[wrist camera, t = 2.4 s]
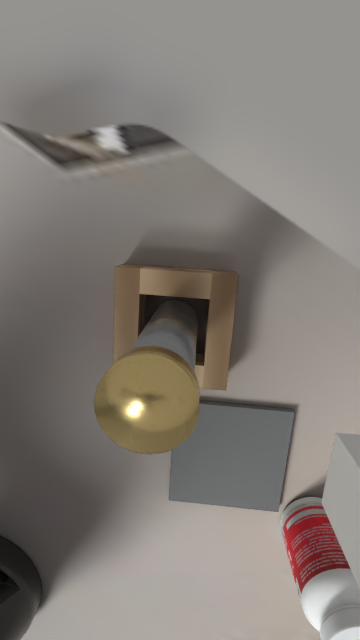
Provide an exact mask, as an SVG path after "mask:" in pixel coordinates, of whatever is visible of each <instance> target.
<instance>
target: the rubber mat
mask: <svg viewBox="0 0 360 640" xmlns="http://www.w3.org/2000/svg"><path fill="white" fill-rule="evenodd" d="M294 414H295V412H294V410H293V409H285V408H274V407H263V406H252V405H241V404H230V403H219V402H209V401H199V416H198V420H197V424H196V426H195V428H194V430H193V432H192V433H191V435H190V436H189V437H188V438H187V439H186V440H185V441H184V442H183V443H182V444H181V445H179V446H177V447H176V448H174V449H172V458H171V473H170V488H169V500H172V501H181V502H190V503H200V504H209V505H218V506H227V507H237V508H246V509H255V510H264V511H274V512H278V511H279V505H280V499H281V493H282V487H283V480H284V474H285V468H286V462H287V456H288V450H289V444H290V438H291V432H292V426H293V420H294Z"/></svg>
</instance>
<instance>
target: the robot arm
mask: <svg viewBox="0 0 360 640" xmlns="http://www.w3.org/2000/svg"><path fill="white" fill-rule="evenodd" d="M321 503H322V505H323V507H324V510H325V512H326V514H327V516H328V519H329V521H330V523H331V526H332V528H333V530H334V532H335V535H336V537H337V539H338V541H339V544H340V546H341V548H342V551H343V553H344V555H345V557H346V560H347V562H348V564H349V566H350V569H351V571H352V573H353V576H354V578H355V580H356V582H357V585H358V587H359V589H360V435H353V434H343V433H336V434H335V439H334V443H333V448H332V453H331V458H330V463H329V468H328V473H327V478H326V482H325V487H324V492H323V497H322V502H321ZM41 596H42V587H41V582H40V578H39V575H38V573H37V571H36V569H35V567H34V565H33V564H32V562H31V561H30V560H29V559H28V557H27V556H26V555H25V554H24V553H23V552H22V551H21V550H20V549H18V548H17V547H16V546H15V545H13V544H12V543H10V542H9V541H7V540H5V539H3V538H1V537H0V640H20V639H21V638H22V637H23V636H24V634H25V633H26V631H27V630H28V628H29V626H30V625H31V622H32V620H33V618H34V616H35V613H36V611H37V609H38V607H39V604H40V601H41Z"/></svg>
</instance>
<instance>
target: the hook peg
mask: <svg viewBox="0 0 360 640" xmlns="http://www.w3.org/2000/svg"><path fill="white" fill-rule="evenodd" d="M197 327H198V319H197V315H196V312H195V311H194V309H193V308H192V307H191V306H190V305H189V304H188V303H186V302H184V301H181V300H170V301H167V302H165V303H163V304H161V305H160V306H159V307H158V309H157V310H156V311H155V313H154V314H153V316H152V317H151V319H150V320H149V322H148V323H147V325H146V326H145V328H144V329H143V331H142V332H141V334H140V335H139V337H138V338H137V340H136V341H135V343H134V344H133V345H132V347H131V348H130V350H129V351H127V352H125V353H123V354H122V355H121V356H119V357H118V358H117V359H116V360H115V361H114V363H113V364H112V365H111V367H110V368H109V369H108V371H107V372H106V373H105V375H104V376H103V378H102V379H101V381H100V382H99V384H98V387H97V389H96V393H95V399H94V407H95V413H96V417H97V420H98V422H99V424H100V426H101V428H102V429H103V431H104V432H105V433H106V434H107V436H108V437H109V438H110V439H112V440H113V441H114V442H115V443H117V444H118V445H120V446H121V447H123V448H125V449H128V450H130V451H133V452H137V453H142V454H158V453H163V452H166V451H169V450H172V449H174V448H176V447H177V446H179V445H181V444H182V443H183V442H184V441H185V440H186V439H187V438H188V437H189V436H190V435H191V433H192V432H193V430H194V428H195V426H196V424H197V420H198V416H199V383H198V379H197V377H196V374H195V358H196V342H197Z"/></svg>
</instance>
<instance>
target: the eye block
mask: <svg viewBox="0 0 360 640" xmlns="http://www.w3.org/2000/svg"><path fill="white" fill-rule="evenodd" d="M237 284H238V275H237V274H236V273H235V272H228V271H214V270H200V269H186V268H172V267H158V266H144V265H130V264H122V265H119V266H115V293H114V351H113V363H114V361H115V360H116V359H117V358H118V357H119V356H121V355H122V354H123V353H125V352H127V351H129V350H130V348H131V347H132V345H133V344H134V343H135V341H136V340H137V338H138V337H139V335H140V334H141V332H142V331H143V329H144V321H145V296H146V294H148V295H161V296H174V297H187V298H200V299H209V303H208V314H207V326H206V337H205V349H204V354H199V353H196V358H195V374H196V377H197V379H198V383H199V388H204V389H215V390H226V387H227V377H228V368H229V359H230V349H231V340H232V331H233V321H234V312H235V303H236V294H237Z"/></svg>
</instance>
